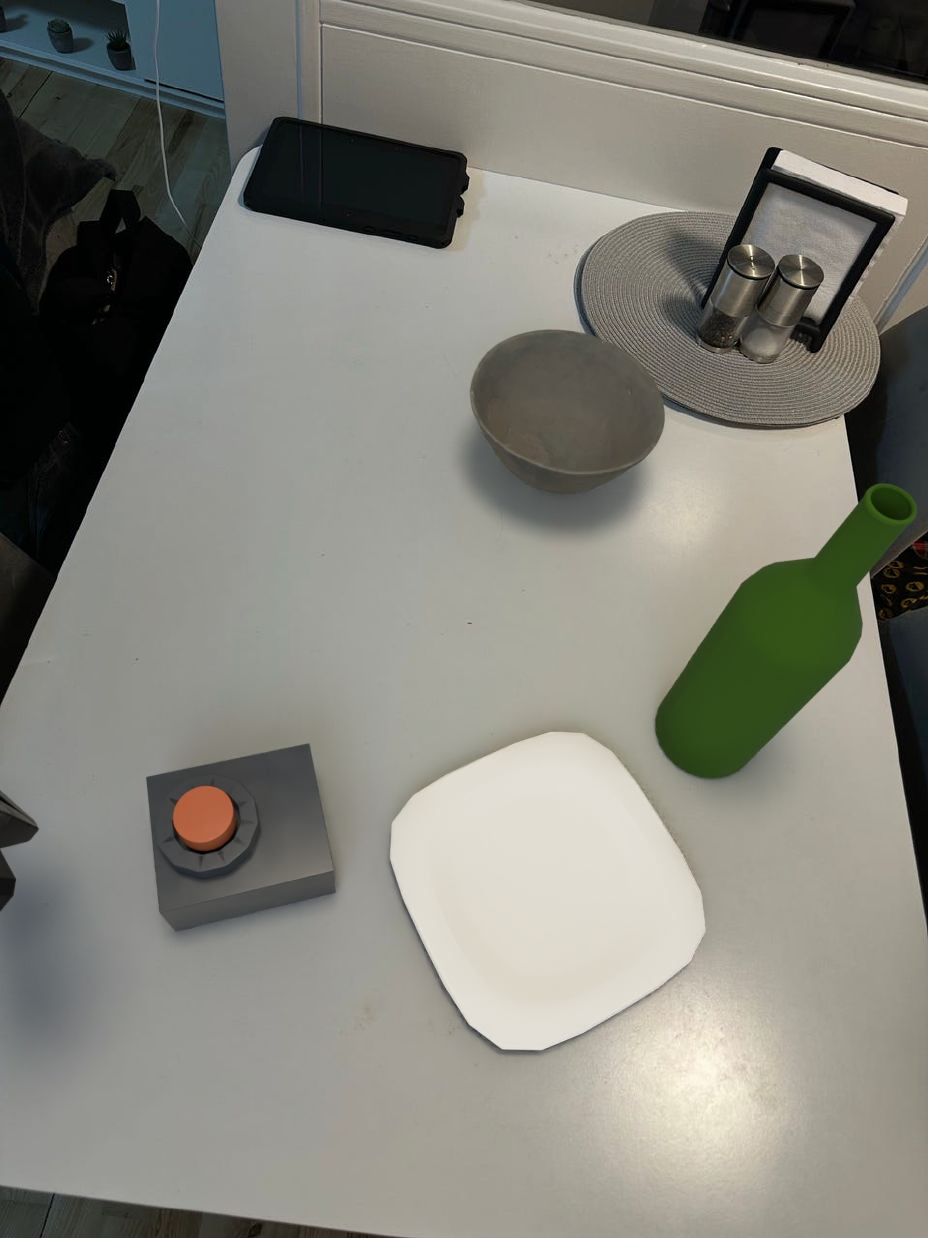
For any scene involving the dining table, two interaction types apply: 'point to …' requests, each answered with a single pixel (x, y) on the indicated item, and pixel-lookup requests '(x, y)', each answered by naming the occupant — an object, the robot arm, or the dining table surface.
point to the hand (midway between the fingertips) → (32, 831)
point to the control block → (243, 840)
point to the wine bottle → (777, 644)
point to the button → (204, 818)
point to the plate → (545, 889)
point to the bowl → (566, 409)
